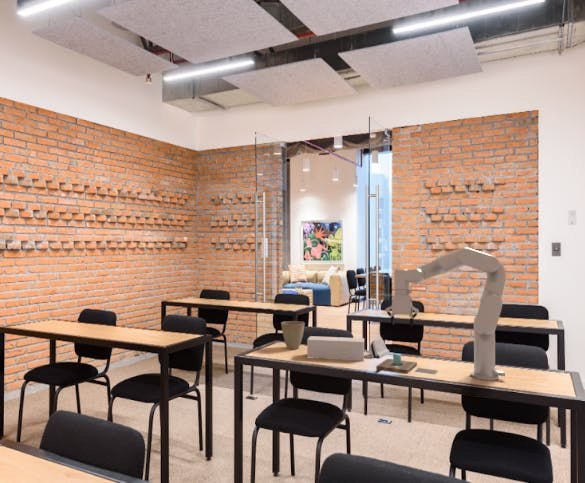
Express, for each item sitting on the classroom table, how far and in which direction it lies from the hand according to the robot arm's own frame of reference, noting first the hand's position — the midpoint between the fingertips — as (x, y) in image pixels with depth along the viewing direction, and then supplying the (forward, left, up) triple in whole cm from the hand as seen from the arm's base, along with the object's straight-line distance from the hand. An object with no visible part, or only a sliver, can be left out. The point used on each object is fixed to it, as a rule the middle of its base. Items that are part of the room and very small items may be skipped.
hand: (402, 325), depth 237 cm
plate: (-13, +3, -23) cm, 27 cm away
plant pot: (+74, -15, -23) cm, 79 cm away
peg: (+2, +3, -23) cm, 23 cm away
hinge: (+21, -26, -23) cm, 41 cm away
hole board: (+2, +3, -23) cm, 23 cm away
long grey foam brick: (+41, -7, -23) cm, 47 cm away
